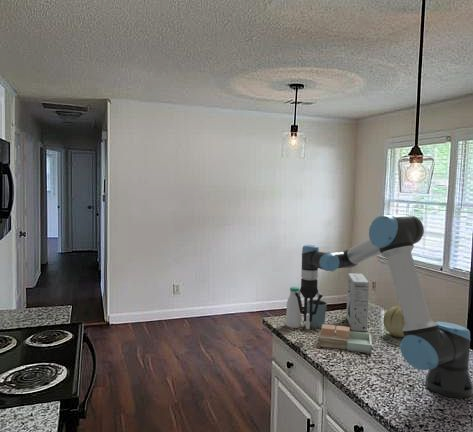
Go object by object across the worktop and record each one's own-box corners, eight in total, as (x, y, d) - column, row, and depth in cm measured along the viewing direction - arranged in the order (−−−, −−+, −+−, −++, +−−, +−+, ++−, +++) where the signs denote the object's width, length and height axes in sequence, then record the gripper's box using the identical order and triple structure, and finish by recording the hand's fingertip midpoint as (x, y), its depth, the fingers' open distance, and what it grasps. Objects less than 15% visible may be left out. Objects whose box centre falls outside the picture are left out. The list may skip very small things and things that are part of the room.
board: (346, 349, 184) (346, 340, 184) (319, 345, 187) (319, 337, 187) (347, 338, 197) (347, 330, 197) (321, 335, 201) (321, 327, 201)
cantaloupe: (383, 339, 197) (385, 308, 196) (381, 329, 211) (383, 300, 210) (417, 343, 193) (419, 311, 192) (413, 333, 207) (414, 303, 206)
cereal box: (346, 317, 231) (347, 273, 229) (360, 318, 230) (362, 273, 228) (351, 330, 209) (353, 281, 208) (367, 331, 208) (369, 282, 207)
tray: (371, 353, 180) (371, 345, 180) (346, 350, 183) (347, 342, 183) (370, 340, 196) (370, 333, 195) (347, 338, 198) (348, 330, 198)
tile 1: (334, 336, 189) (334, 329, 189) (321, 334, 191) (321, 328, 191) (335, 331, 195) (335, 325, 195) (322, 330, 197) (322, 324, 196)
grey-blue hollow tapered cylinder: (303, 322, 221) (303, 300, 220) (320, 321, 224) (320, 299, 223) (312, 328, 211) (312, 305, 210) (329, 327, 214) (330, 304, 213)
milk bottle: (300, 329, 210) (302, 289, 209) (285, 327, 212) (286, 288, 210) (301, 324, 218) (302, 286, 216) (286, 323, 219) (287, 285, 218)
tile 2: (349, 337, 187) (349, 331, 187) (335, 336, 189) (335, 329, 189) (349, 333, 193) (349, 327, 193) (336, 331, 195) (336, 325, 195)
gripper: (324, 277, 196) (322, 327, 197) (296, 275, 199) (295, 324, 201) (322, 281, 189) (321, 332, 190) (294, 278, 192) (292, 329, 194)
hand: (307, 328), depth 195 cm, fingers closed
